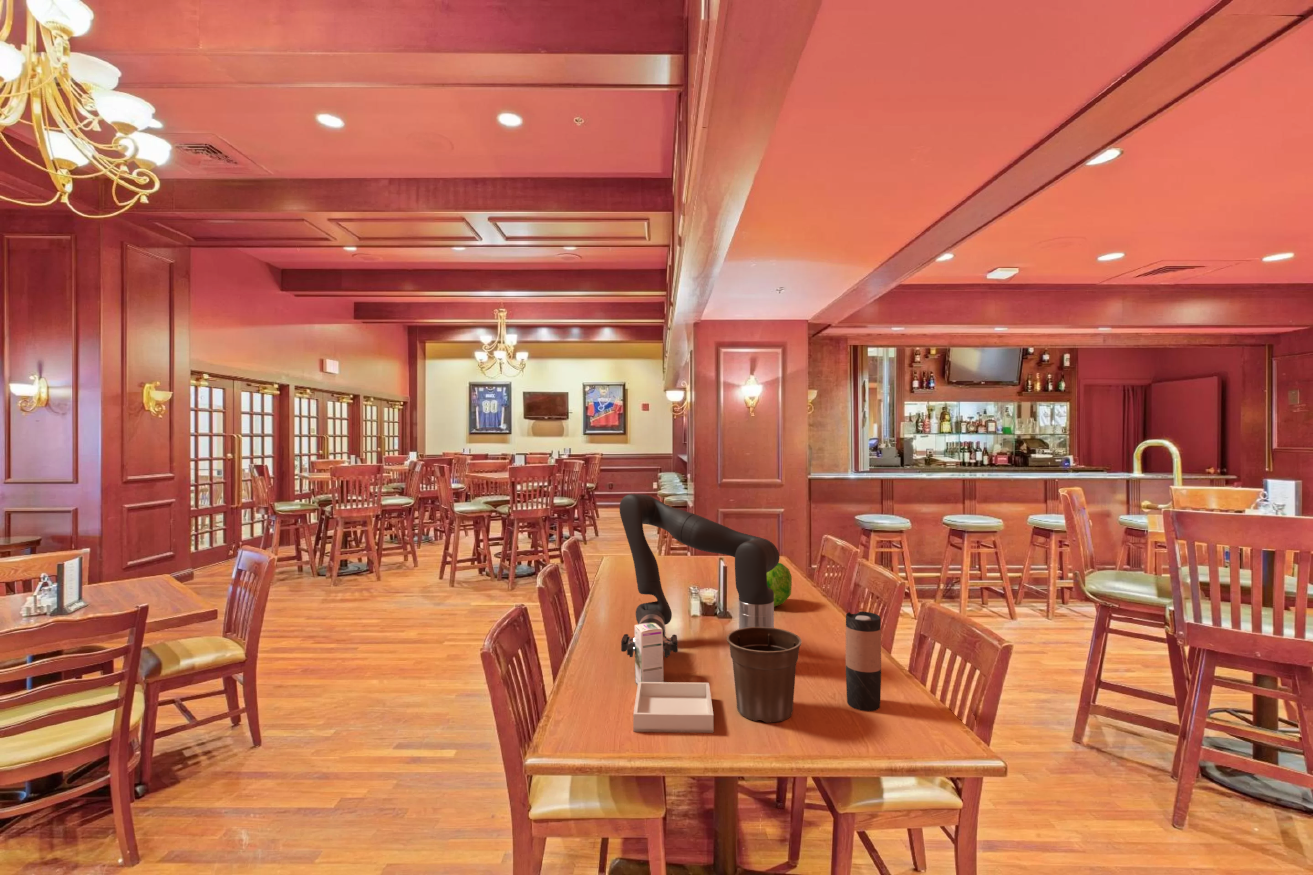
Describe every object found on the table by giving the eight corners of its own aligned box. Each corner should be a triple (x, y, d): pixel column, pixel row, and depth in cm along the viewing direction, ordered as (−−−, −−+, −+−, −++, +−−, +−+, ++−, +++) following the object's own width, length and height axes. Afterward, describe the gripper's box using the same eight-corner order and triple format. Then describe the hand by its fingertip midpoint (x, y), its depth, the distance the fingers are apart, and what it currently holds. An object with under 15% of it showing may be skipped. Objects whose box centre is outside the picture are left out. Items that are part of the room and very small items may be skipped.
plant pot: (765, 736, 120) (764, 656, 121) (712, 707, 133) (711, 635, 134) (817, 714, 130) (817, 640, 130) (763, 689, 143) (762, 622, 143)
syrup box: (664, 688, 144) (664, 628, 144) (641, 691, 142) (641, 630, 142) (656, 679, 149) (656, 621, 149) (633, 682, 147) (633, 623, 147)
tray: (708, 698, 138) (708, 682, 138) (713, 732, 122) (713, 714, 122) (638, 697, 139) (638, 681, 139) (633, 731, 122) (633, 714, 122)
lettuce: (778, 600, 228) (753, 566, 231) (810, 583, 213) (783, 546, 216) (751, 624, 217) (725, 588, 220) (783, 607, 202) (755, 568, 205)
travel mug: (877, 714, 130) (877, 622, 130) (841, 706, 134) (841, 617, 134) (884, 701, 136) (884, 614, 136) (850, 694, 140) (850, 609, 140)
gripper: (624, 617, 160) (618, 637, 144) (677, 617, 160) (678, 637, 143) (624, 645, 160) (619, 668, 144) (677, 646, 160) (678, 669, 143)
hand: (648, 653), depth 144 cm, fingers open, 8 cm apart
